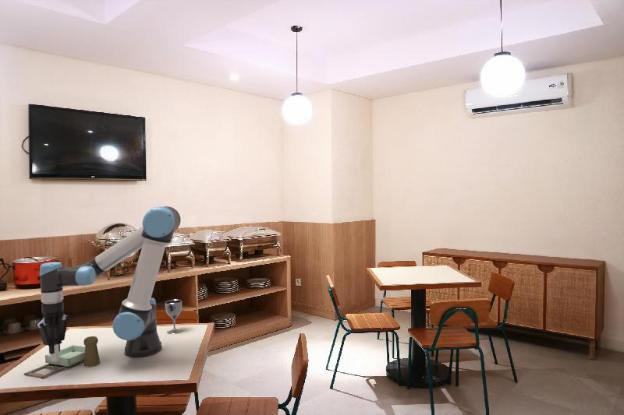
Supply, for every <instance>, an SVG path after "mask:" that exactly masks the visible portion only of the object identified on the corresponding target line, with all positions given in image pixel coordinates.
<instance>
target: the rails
mask: <svg viewBox="0 0 624 415" xmlns="http://www.w3.org/2000/svg"><path fill="white" fill-rule="evenodd" d="M81 363H84V360H83V361H81V362H78V363H76V364H74V365H71V366H62V367H60V366H54V365H55V364H49V363H46V364H45V365H41V366H40V367H39V366H38V367H36V368H34V369H32V370H30V371H26V372H24V373H23V376H26V377H27V376H28V377H34V378H39V379H47V378H48V377H50V376H52V375H54V374H57V373H59V372H63V371H65V370H66V369H69V368H71V367H73V366H75V365H79V364H81ZM41 370H51V371H50V372H48V373H45V374H44V373H43V374H42V373H37V372H39V371H41Z"/></svg>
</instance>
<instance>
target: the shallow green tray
mask: <svg viewBox="0 0 624 415" xmlns="http://www.w3.org/2000/svg"><path fill="white" fill-rule="evenodd" d="M84 355H85V345H84V346H83V345H77V344H76V345H74V344H72V345H69V346H67V347H65V348H64V347H63V348H60V351H59V361H57V362H54V361H51V354H50V353H48V354H46V355H44V358H45V359H44V360H45V361H44V362H45V364H54V365H55V366H56V365H57V366H62V367H64V366H71V365H74V364H76V363H78V362H81V361H83V360H84ZM83 362H84V361H83ZM81 363H82V362H81ZM76 365H77V364H76ZM74 366H75V365H74ZM71 367H72V366H71Z"/></svg>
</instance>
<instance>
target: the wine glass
mask: <svg viewBox="0 0 624 415" xmlns="http://www.w3.org/2000/svg"><path fill="white" fill-rule="evenodd" d="M164 308H165V311H166V315H168V316H169V317H170V318H171V320H172V324H173V329H169V330H167V332H166V333H167V334H169V335H172V334H173V335H174V334H179V333H182V331H183V330H182V329H180V328H176V321H177V318H178V317H179V316H180V314H181V312H182V308H183V301H182V300H181V299H170V300H166V301H165V302H164Z"/></svg>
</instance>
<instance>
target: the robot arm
mask: <svg viewBox="0 0 624 415" xmlns="http://www.w3.org/2000/svg"><path fill="white" fill-rule="evenodd" d="M181 222H182V221H181V215H180V212H178V210H177V209H175V208H174V207H171V206H167V205H166V206H156V207H153V208H151V209H150V210H148V211H147V212H146V213H145V214H144V216H143V218H142V223H141V224H142V226H141V227H139V228H138V229H136V230H135V231H133V232H131V233H130V234H128V235H127V236H125V237H124V238H122V239H121V240H119V241H117V242H116V243H114V244H113V245H112V246H110V247H108V248H107V249H106V250H104V251H103V252H101V253H100V254H98V255H96V256H95V257H94V258H93V257H92V259H90V260H89V261H87V262H86V263H82V264H80V265H76V266H68V267H67V266H66V267H65V266H63V264H62V263H61V262H60V261H59V262H58V261H53V262H51V261H50V262H46V263H42V264H41V265H40V266H39V267H40V268H39V279H40V280H39V281H40V302H41V303H42V304H41V305H40V306H41V313H42V317H41V320H40V321H39V322H37V323H35V326H36V327H37V329H38V330H39V334H40V337H41V340H42V343H43V346H48V354H51V361H54V362H57V361H59V351H60V350H61V344H62V343H63V342H64V341H65V338H66V333H67V325H68V321H69V319H70V315H68V314H67V315H66V314H65V313H64V306H65V305H64V301H63V300H64V290H63V287H79V286H80V287H81V286H82V287H85V286H91V285H92V284H94V282H95V281H96V279H98V278H99V277H101V276H102V275H103V274H105V273H106V272H107V271H109V270H110V269H112V268H113V267H115V266H117V265H118V264H119V263H121V262H122V261H124V260H125V259H127V258H129V257H130V256H132V255H133V254H135V253H136V252H138V251H139V250H140V249H141V250H140V254H139V257H138V261H137V263H136V267H135V271H134V273H133V274H134V275H133V277H132V281H131V285H130V288H129V292H128V294H127V298H125V299H124V300H122V302H121V304H120V308H119V310H118V311H119V312H118V314H117V315H115V317H114V320H113V322H112V330H113V333H114V334H115V336H116V337H117V338H119V339H121V340H124V341H126V343H125V346H124V356H126V357H129V358H143V357H148V356H151V355H154V354H155V355H156V354H157V353H159V352H161V351H162V348H163V346H162V345H163V344H162V341H161V340H160V337H159V334H158V329H157V328H158V327H157V326H158V324H157V303H156V301H157V300H156V299H155V298H154V297H152V295H153V291H154V288H155V284H156V281H157V279H158V274H159V270H160V268H161V264H162V261H163V256H164V253H165V250H166V247H167V246H168V245H170V244H171V242H172V239H173V236H174V232H175V231H177V230H178V228H179V227H180V225H181Z"/></svg>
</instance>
